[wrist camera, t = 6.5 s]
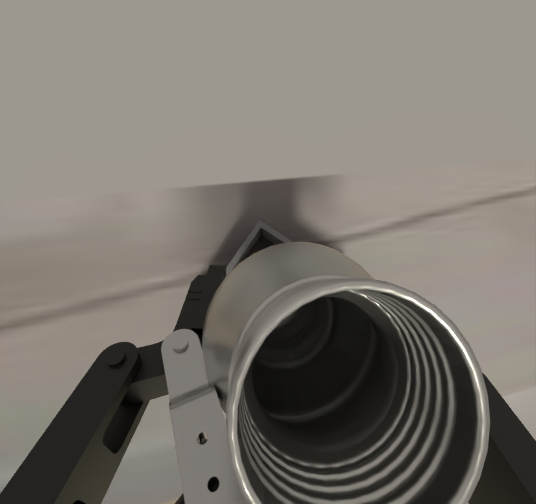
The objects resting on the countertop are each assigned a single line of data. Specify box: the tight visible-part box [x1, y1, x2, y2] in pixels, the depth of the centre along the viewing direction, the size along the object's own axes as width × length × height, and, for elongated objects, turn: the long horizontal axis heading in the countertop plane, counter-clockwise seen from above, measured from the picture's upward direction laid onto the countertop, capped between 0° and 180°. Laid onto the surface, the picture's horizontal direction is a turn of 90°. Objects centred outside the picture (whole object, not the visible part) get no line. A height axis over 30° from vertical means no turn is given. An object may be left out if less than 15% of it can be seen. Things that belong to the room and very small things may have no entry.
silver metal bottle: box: [202, 242, 490, 504], centre depth 13 cm, size 6×7×20 cm
